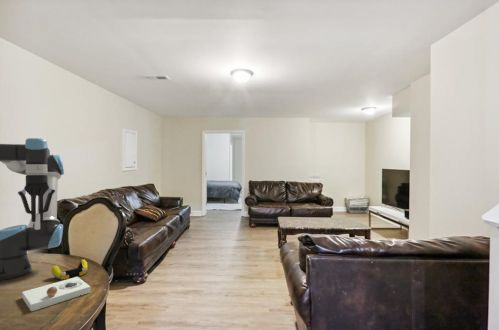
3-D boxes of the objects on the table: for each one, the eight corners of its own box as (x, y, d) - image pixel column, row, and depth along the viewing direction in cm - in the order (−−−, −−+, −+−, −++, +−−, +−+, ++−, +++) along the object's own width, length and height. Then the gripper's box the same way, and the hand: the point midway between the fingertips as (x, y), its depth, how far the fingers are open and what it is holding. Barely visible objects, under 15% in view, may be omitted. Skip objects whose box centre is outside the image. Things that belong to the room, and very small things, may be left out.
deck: (22, 297, 113) (22, 291, 113) (77, 282, 128) (77, 276, 128) (31, 311, 102) (31, 304, 102) (90, 292, 117) (90, 286, 117)
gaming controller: (50, 277, 134) (55, 283, 127) (50, 266, 134) (55, 271, 127) (85, 268, 145) (91, 273, 138) (85, 258, 145) (91, 262, 138)
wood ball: (45, 296, 109) (45, 287, 109) (55, 293, 111) (55, 284, 111) (47, 298, 107) (47, 289, 107) (58, 295, 109) (58, 286, 109)
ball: (63, 291, 118) (63, 283, 119) (72, 289, 121) (72, 281, 121) (65, 292, 116) (65, 284, 117) (75, 290, 118) (75, 282, 119)
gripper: (19, 175, 112) (19, 233, 112) (57, 174, 122) (57, 227, 122) (15, 174, 117) (16, 230, 117) (52, 173, 127) (52, 225, 127)
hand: (37, 228), depth 120 cm, fingers closed
